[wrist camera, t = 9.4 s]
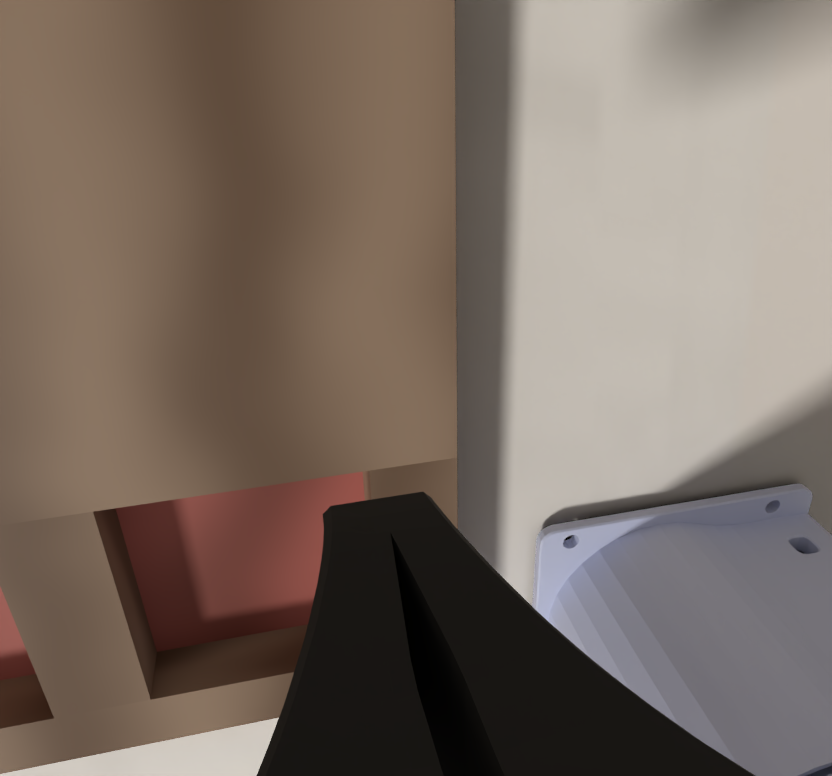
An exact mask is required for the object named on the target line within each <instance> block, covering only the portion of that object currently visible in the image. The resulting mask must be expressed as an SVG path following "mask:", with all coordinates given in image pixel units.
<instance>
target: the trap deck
mask: <svg viewBox="0 0 832 776" xmlns="http://www.w3.org/2000/svg"><path fill="white" fill-rule="evenodd" d="M417 492H424V493H426V494H427V495H428V496H430V497H431V498H432V499H433V500H434V502H435V503H436V504H437V505H438V507H439V508H440V509H441V510H442V512H443V513H444V514H445V515H446V516H447V518H448V519H449V520H450V521H451V522H452V524H453V525H454V526H455V527H456V528H457V529H458V505H457V322H456V138H455V0H0V774H2V773H7V772H12V771H17V770H22V769H27V768H32V767H36V766H41V765H46V764H51V763H56V762H61V761H66V760H71V759H76V758H81V757H86V756H91V755H96V754H101V753H106V752H110V751H115V750H120V749H125V748H130V747H135V746H140V745H145V744H150V743H155V742H160V741H165V740H170V739H175V738H180V737H184V736H189V735H194V734H199V733H204V732H209V731H214V730H219V729H224V728H229V727H234V726H239V725H244V724H249V723H254V722H258V721H263V720H268V719H273V718H278V717H280V714H281V711H282V708H283V705H284V702H285V700H286V697H287V693H288V690H289V687H290V684H291V680H292V677H293V674H294V671H295V667H296V664H297V661H298V658H299V655H300V651H301V648H302V645H303V642H304V638H305V634H306V630H307V626H308V622H309V618H310V613H311V609H312V605H313V600H314V596H315V592H316V587H317V583H318V577H319V571H320V565H321V558H322V550H323V536H324V523H323V513H324V512H325V511H326V510H327V509H328V508H329V507H330V506H333V505H339V504H346V503H352V502H359V501H365V500H372V499H378V498H384V497H391V496H397V495H404V494H410V493H417Z"/></svg>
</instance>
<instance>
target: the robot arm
mask: <svg viewBox="0 0 832 776" xmlns="http://www.w3.org/2000/svg"><path fill="white" fill-rule="evenodd" d="M812 496H813V494H812V492H811V491H810V490H809V489H808V488H807V487H806V486H804V485H803V484H791V485H785V486H779V487H773V488H767V489H761V490H755V491H749V492H743V493H738V494H732V495H726V496H720V497H714V498H708V499H702V500H696V501H690V502H684V503H678V504H672V505H666V506H660V507H655V508H649V509H643V510H637V511H631V512H625V513H619V514H613V515H607V516H601V517H595V518H589V519H583V520H577V521H572V522H566V523H560V524H554V525H550V526H547V527H545V528H544V529H543V530H541V532H540V533H539V534H538V536H537V540H536V555H535V572H534V588H533V604H532V606H531V605H530V604H529V603H528V602H527V601H526V600H525V599H524V598H523V597H522V596H521V595H520V594H519V593H518V592H517V591H516V590H515V589H514V588H513V587H512V586H511V585H510V584H509V583H508V582H507V581H506V580H505V579H504V578H503V577H502V576H501V575H500V574H499V573H498V572H497V571H496V570H495V569H494V568H493V567H492V566H491V565H490V564H489V563H488V562H487V561H486V560H485V559H484V558H483V557H482V556H481V555H480V554H479V553H478V552H477V550H476V549H475V548H474V547H473V546H472V545H471V544H470V543H469V542H468V541H467V539H466V538H465V537H464V536H463V535H462V534H461V533H460V532H459V530H458V529H457V528H456V527H455V526H454V525H453V524H452V522H451V521H450V520H449V519H448V518H447V516H446V515H445V514H444V513H443V512H442V510H441V509H440V508H439V507H438V505H437V504H436V503H435V502H434V500H433V499H432V498H431V497H430V496H428V495H427V494H426V493H424V492H417V493H410V494H404V495H397V496H391V497H384V498H378V499H372V500H365V501H359V502H352V503H346V504H339V505H333V506H330V507H329V508H328V509H327V510H326V511H325V512H324V513H323V523H324V536H323V550H322V558H321V565H320V571H319V577H318V583H317V587H316V592H315V596H314V600H313V605H312V609H311V613H310V618H309V622H308V626H307V630H306V634H305V638H304V642H303V645H302V648H301V651H300V655H299V658H298V661H297V664H296V667H295V671H294V674H293V677H292V680H291V684H290V687H289V690H288V693H287V697H286V700H285V702H284V705H283V708H282V711H281V714H280V717H279V719H278V722H277V725H276V728H275V730H274V733H273V736H272V738H271V741H270V744H269V746H268V749H267V751H266V754H265V756H264V759H263V761H262V764H261V766H260V769H259V771H258V774H257V776H832V535H831V534H830V533H829V532H828V531H827V530H825V529H824V528H823V527H822V526H821V525H820V524H819V523H818V522H817V521H816V520H814V519H813V518H812V517H811V516H810V515H809V514H808V512H809V509H810V505H811V502H812ZM768 503H769V504H768ZM571 535H573V536H572V537H571V538H570V539H568V540H564V539H566V538H567V537H568V536H571Z"/></svg>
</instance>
